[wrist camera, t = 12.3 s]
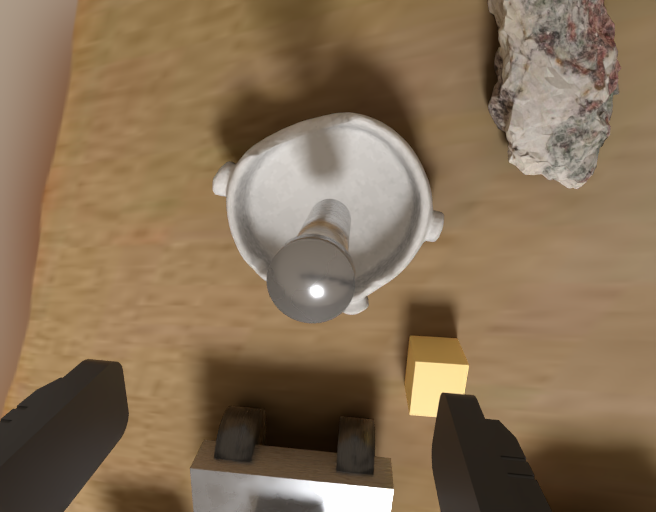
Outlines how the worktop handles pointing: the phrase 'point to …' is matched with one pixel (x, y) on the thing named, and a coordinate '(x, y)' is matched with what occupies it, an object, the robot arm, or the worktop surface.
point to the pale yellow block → (433, 372)
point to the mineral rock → (554, 85)
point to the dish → (332, 195)
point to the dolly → (289, 470)
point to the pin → (315, 267)
